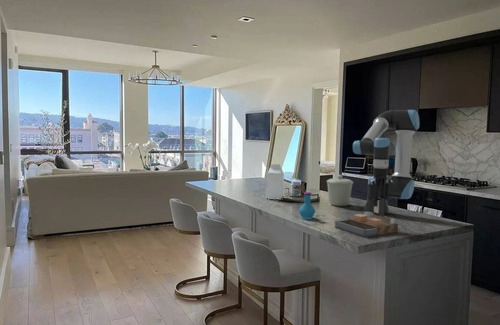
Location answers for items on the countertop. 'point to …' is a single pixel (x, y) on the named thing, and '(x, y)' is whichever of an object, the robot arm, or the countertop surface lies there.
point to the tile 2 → (375, 221)
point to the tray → (355, 229)
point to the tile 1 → (360, 217)
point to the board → (380, 228)
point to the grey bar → (380, 213)
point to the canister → (339, 191)
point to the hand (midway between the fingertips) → (378, 212)
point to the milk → (275, 182)
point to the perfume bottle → (307, 207)
